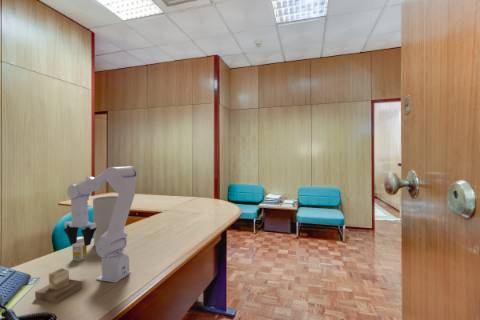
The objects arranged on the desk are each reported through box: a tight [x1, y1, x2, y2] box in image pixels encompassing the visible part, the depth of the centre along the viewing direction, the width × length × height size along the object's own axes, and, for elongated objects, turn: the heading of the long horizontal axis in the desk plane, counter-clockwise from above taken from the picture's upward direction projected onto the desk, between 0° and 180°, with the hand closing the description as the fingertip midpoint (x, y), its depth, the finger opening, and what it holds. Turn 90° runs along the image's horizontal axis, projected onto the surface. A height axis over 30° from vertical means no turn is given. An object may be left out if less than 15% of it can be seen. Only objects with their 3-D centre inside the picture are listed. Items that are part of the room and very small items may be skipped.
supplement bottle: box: [71, 236, 88, 262], centre depth 109 cm, size 5×5×10 cm
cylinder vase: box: [92, 195, 118, 247], centre depth 128 cm, size 12×12×25 cm
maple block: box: [48, 268, 70, 290], centre depth 81 cm, size 4×4×5 cm
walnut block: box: [34, 278, 82, 304], centre depth 81 cm, size 9×9×3 cm
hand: (80, 244), depth 99 cm, fingers open, 7 cm apart
